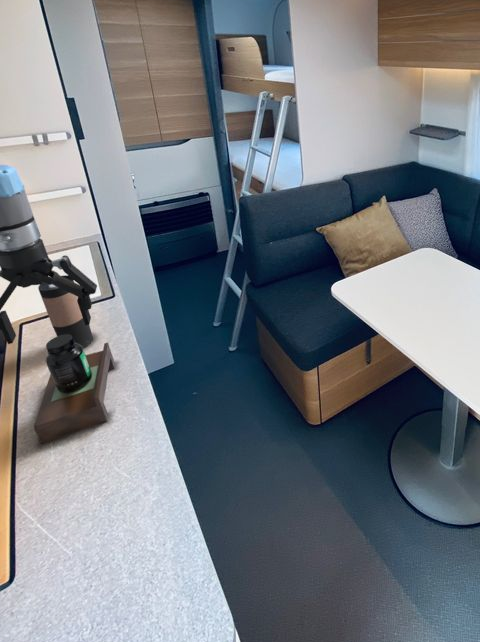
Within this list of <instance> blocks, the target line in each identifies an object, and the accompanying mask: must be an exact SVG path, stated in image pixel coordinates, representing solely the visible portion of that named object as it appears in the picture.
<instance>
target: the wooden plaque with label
mask: <svg viewBox="0 0 480 642" xmlns="http://www.w3.org/2000/svg"><path fill="white" fill-rule="evenodd" d="M85 355H86V358H87V360H88V363H89V366H90V368H91V371H92V379H91V380H90V382H89V383H88V384H87V385H86V386H84V387H83V388H81V389H79V390H77V391H75V392H71V393H61V392H59V391H58V389H57V387H56V385H55V383H54V381H53V378H52V376H51V374H50V373H49V374H50V375H49V376H48V380H47V384H46V387H45V389H44V392H43V396H42V398H41V402H40V405H39V408H38V411H37V414H36V418H35V421H34V424H33V429H34V431H35V434H36V435H37V437H38V439H39V441H40V444H45V443H48V442H51V441H53V440H58V439H60V438H62V437H66V436H68V435H72V434H75V433H77V432H80V431H83V430H86V429H89V428H92V427H95V426H99V425H101V424H104V423H106V422H108V418H109V413H108V410H107V407H106V405H105V396H106V390H107V389H106V388H107V382H108V376H109V371H110V370H114V369H115V366H116V362H115V359H114V356H113V353H112V350H111V348H110V344H109V342H104V344H103V350H99V351H96V352H93V353H92V352H91V353H89V354H85Z"/></svg>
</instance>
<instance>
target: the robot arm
mask: <svg viewBox="0 0 480 642" xmlns="http://www.w3.org/2000/svg"><path fill="white" fill-rule="evenodd" d="M23 183H24V182H22V180H21V178H20V175H19V173H18V171H17V169H16V168H15V167H13V166H11V165H8V164H0V278H2V279H3V280H5V281H7V282H8V283H9V284H8V285H7V287H6V288H5V290H4V291H3V293H2V294H1V296H0V331H1V332H2V334H3V336H4V339H5V341H6V343H7V345H11V344H13V343H14V341H15V340H16V337H17V334H16V330H14V327H13V325H12V322H11V320H10V317H9V315H8V313H7V310H6V309H5V310H2V309H3V308H4V306H5V304H6V303H7V301H8V300H9V299H10V297H11V296H12V294H13V293H14V291H15V290H16V288H17V287H20V288H22V289H25V288H29V287H31V286H39V285H40V284H42V283H43V282H45V283H47V284H50V285H55V286H57V287H59V288H61V289H63V290H65V291H67V292H69V293H71V294H73V295H75V296H78V299H77V302H78V305H79V308H80V311H81V314H82V317H83V320H84V323H85V325H89V326H90V323H91V319H92V316H91V313H90V310H92V306H93V303H92V300H91V295H94V294H96V292H97V288H98V285H97V284H96V283H95V282H94V281H93V280H92V279H90V277H88V275H86V274H85V273H83V271H81V270H80V269H79V268H78V267H77V266H75V265H74V264H73V263H72V261H71V259H70V257H69V256H68V255H65V254H64V255H62V256H61V257H60V258H58V259H54V260H52V259H51V258H50V257H49V255H48V252H47V249H46V246H45V244H44V241H43V239H42V238H41V236H42V234H41V232H40V230H39V227H38V224H37V222H36V218H35V216H34V213H33V211H32V207H31V205H30V204H31V203H30V202H29V199H28V196H27V193H26V189H25V185H24V184H23ZM55 267H56V268H58V269H59V270H60V271H61V270H62V271H63V272H64V274H66V275H67V276H69V277H71V278H72V279H73V280H74V282H72V281H70V280H68V279H66V278H64V277H62V276H63V275H61V274H59V273H58V272H57V271H55V270H53V268H55Z"/></svg>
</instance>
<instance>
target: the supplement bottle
mask: <svg viewBox="0 0 480 642" xmlns="http://www.w3.org/2000/svg"><path fill="white" fill-rule="evenodd" d="M45 348H46V351H47V356H46V357H45V364H46V366H47V369H48V371H49V374H51V376H52V378H53V381H54V383H55V385H56V387H57V389H58V391H59V392H61V393H71V392H75V391H77V390H79V389H81V388H83V387H84V386H86V385H87V384H88V383H89V382H90V380H91V379H92V371H91V368H90V366H89V363H88V360H87V358H86V355H87V354H86V352H85V350H84V348H83V347H82V346H81V345H80V344H78V343H75V341H74V339H73V337H72V336H71V335H69V334H64V335H60V336H57V335H56V336H55V337H53V338H51V339H50V340H49V341H48V342H46V344H45Z"/></svg>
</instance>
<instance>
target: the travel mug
mask: <svg viewBox="0 0 480 642" xmlns="http://www.w3.org/2000/svg"><path fill="white" fill-rule="evenodd" d="M61 276H62V277H64V278H66V279H68V280H70V281H72V282H74V283H75V281H74V280H73V279H72V278H71V277H69V276H68V275H67V274H66V275H64V274H63V275H61ZM37 289H38V292H39V294H40V297H41V300H42V302H43V305H44V308H45V310H46V313H47V315H48V318H49V321H50V323H51V326H52V328H53V331H54V333H55V335H56V337H57V336H60V335H64V334H69V335H71V336H72V337H73V339H74V341H75V343H78V344H80V345H81V346H82V347H83V349H85V348H86V347H88V346H89V345H91V344H92V342H93V341H94V336H93V333H92V329H91V326H90V324H89V325H85V323H84V320H83V317H82V314H81V311H80V308H79V305H78V302H77V299H78V296H75V295H73V294H71V293H69V292H67V291H65V290H63V289H61V288H59V287H57V286H55V285H50V284H47V283H45V282H43V283H42V284H40V285H38V288H37Z"/></svg>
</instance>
